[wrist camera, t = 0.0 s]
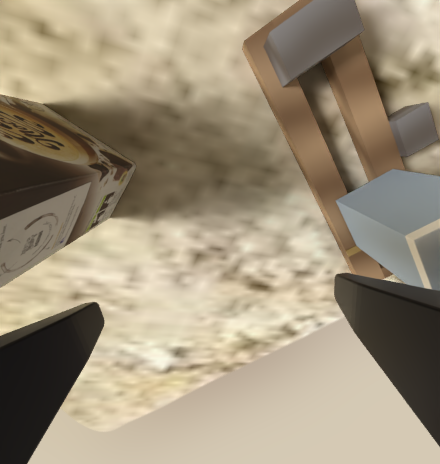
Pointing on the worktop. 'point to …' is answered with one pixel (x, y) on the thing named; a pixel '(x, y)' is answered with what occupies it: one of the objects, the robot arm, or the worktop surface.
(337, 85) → the beam
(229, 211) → the worktop surface
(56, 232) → the coffee box
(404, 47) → the worktop surface
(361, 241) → the block
